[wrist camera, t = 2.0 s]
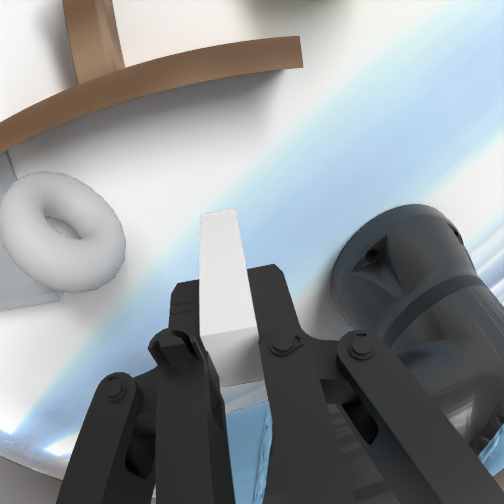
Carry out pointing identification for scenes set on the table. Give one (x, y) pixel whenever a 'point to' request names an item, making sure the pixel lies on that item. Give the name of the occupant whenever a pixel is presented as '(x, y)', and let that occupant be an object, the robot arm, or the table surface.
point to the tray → (11, 276)
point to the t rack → (135, 70)
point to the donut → (54, 242)
